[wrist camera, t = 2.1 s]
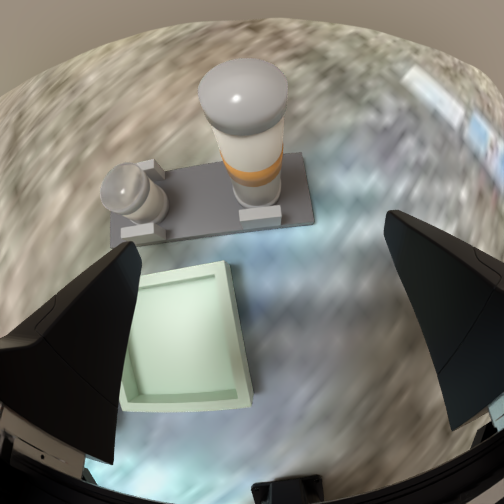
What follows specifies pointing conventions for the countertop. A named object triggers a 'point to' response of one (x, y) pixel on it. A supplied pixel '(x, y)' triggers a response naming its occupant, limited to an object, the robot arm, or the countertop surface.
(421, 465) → the countertop surface
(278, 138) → the banded fuse
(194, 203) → the block
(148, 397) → the tray
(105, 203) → the cylinder
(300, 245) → the countertop surface
